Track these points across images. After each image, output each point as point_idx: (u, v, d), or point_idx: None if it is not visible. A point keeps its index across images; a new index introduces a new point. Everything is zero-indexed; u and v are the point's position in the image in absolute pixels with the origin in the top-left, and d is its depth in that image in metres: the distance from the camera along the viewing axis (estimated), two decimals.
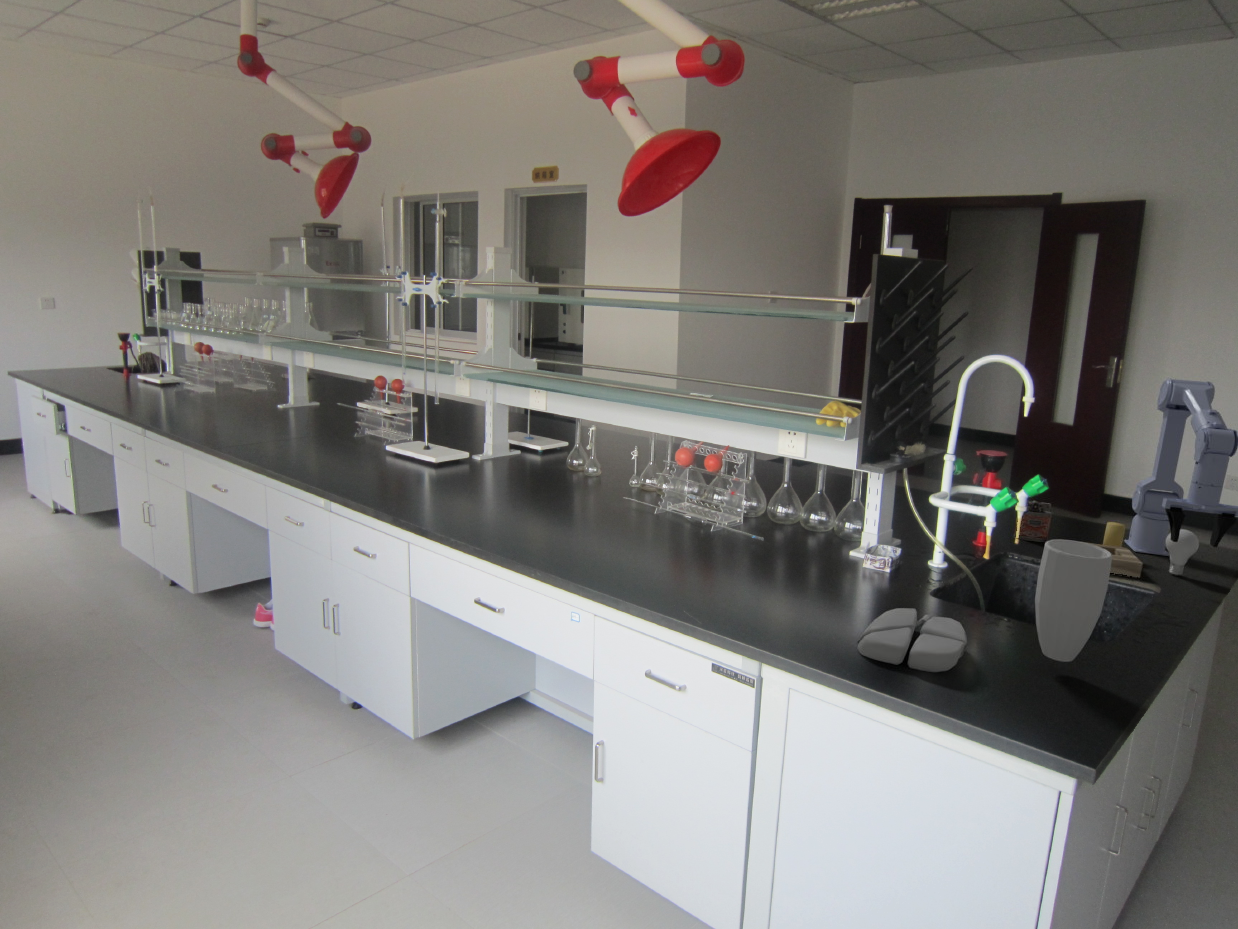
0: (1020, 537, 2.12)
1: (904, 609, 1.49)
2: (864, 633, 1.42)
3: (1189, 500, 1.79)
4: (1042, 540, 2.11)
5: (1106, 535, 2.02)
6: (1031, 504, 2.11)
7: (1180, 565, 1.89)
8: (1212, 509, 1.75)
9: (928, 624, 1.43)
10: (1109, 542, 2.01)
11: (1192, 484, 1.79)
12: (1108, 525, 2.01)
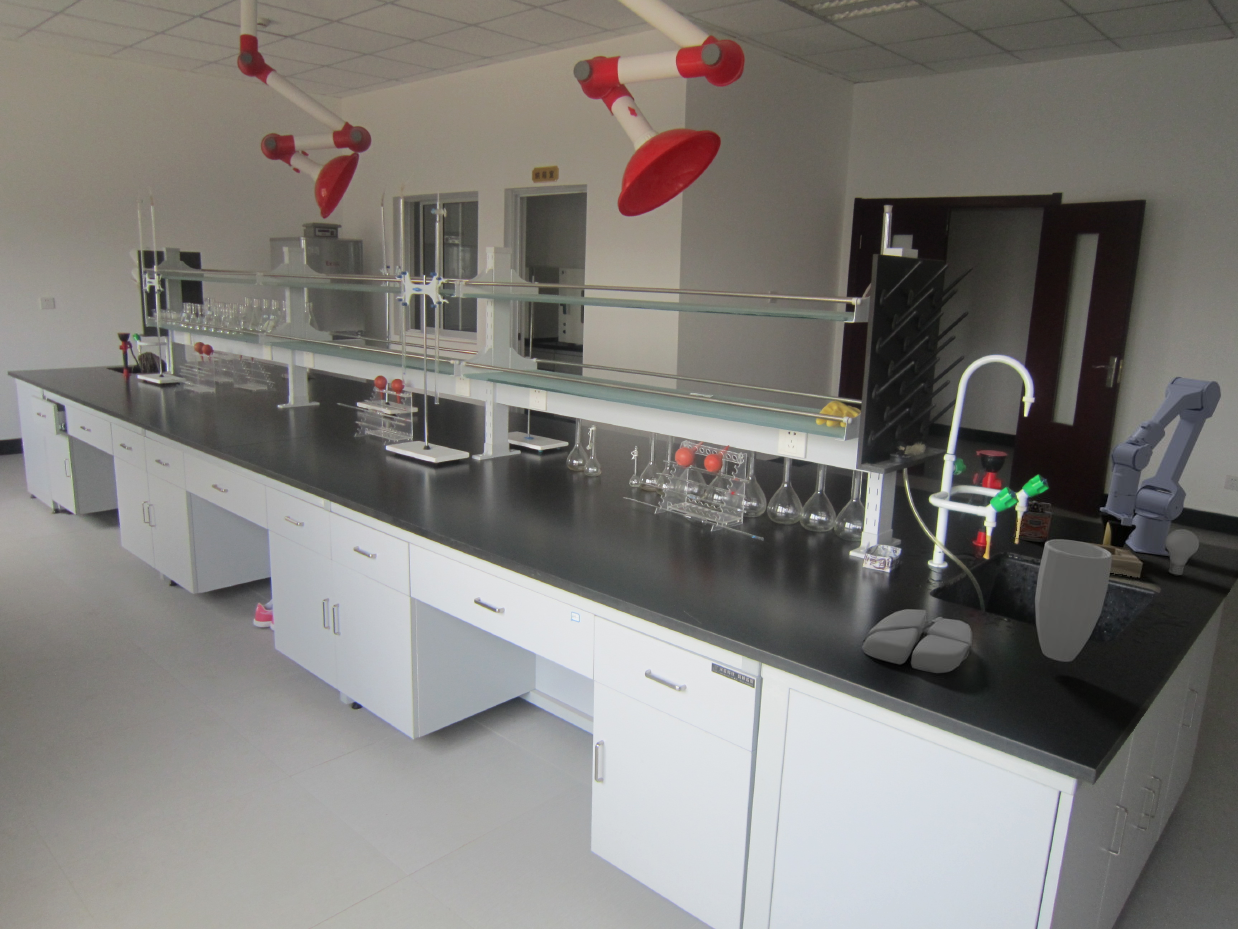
0: (1020, 537, 2.12)
1: (914, 610, 1.49)
2: (870, 632, 1.43)
3: None
4: (1042, 540, 2.11)
5: (1106, 535, 2.02)
6: (1031, 504, 2.11)
7: (1180, 565, 1.89)
8: (1101, 509, 2.01)
9: (935, 625, 1.42)
10: (1109, 542, 2.01)
11: None
12: (1108, 525, 2.01)
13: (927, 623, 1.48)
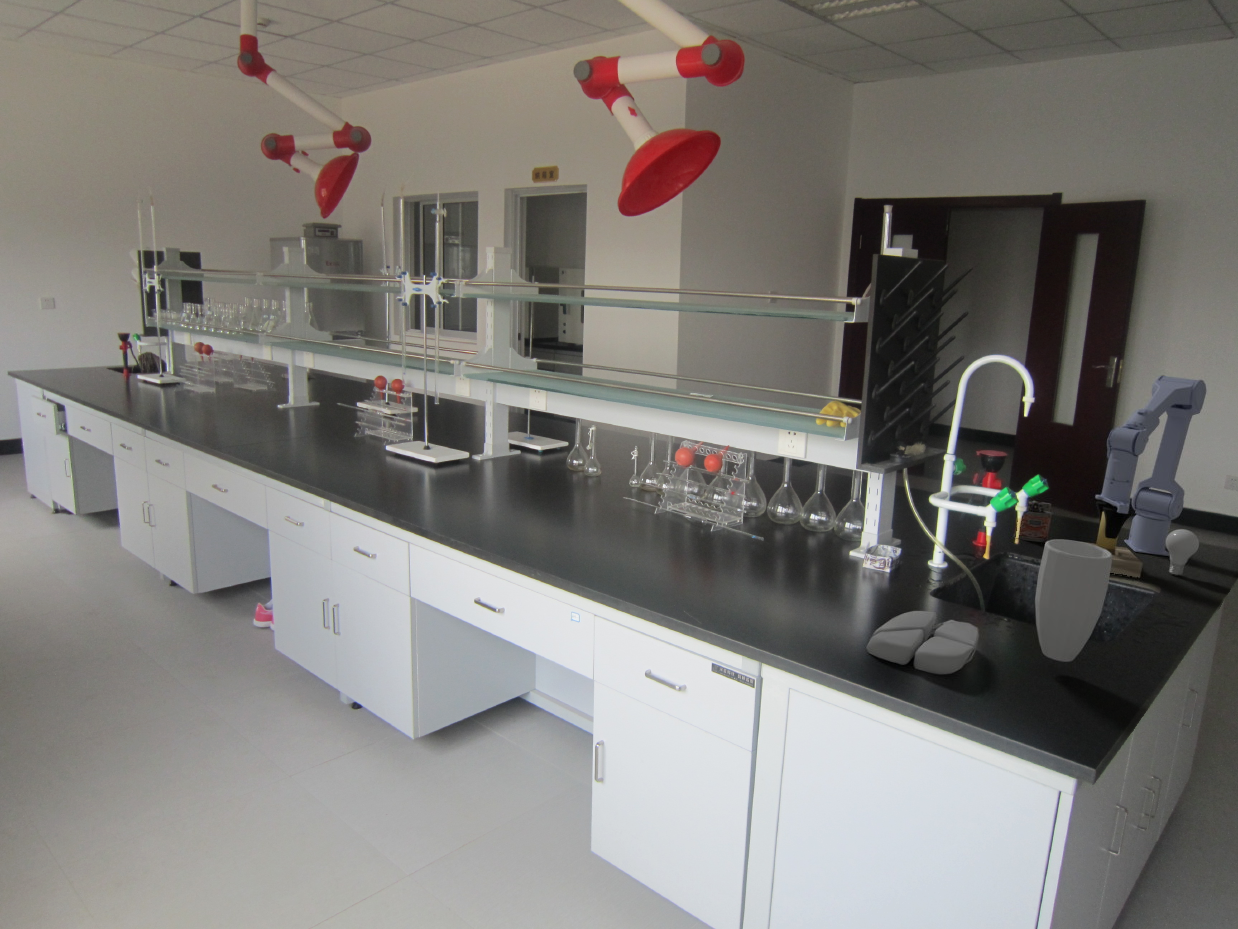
0: (1020, 537, 2.12)
1: (923, 612, 1.48)
2: (875, 632, 1.43)
3: None
4: (1042, 540, 2.11)
5: (1102, 525, 1.93)
6: (1031, 504, 2.11)
7: (1180, 565, 1.89)
8: (1096, 497, 1.92)
9: (942, 627, 1.41)
10: None
11: None
12: None
13: (936, 625, 1.47)
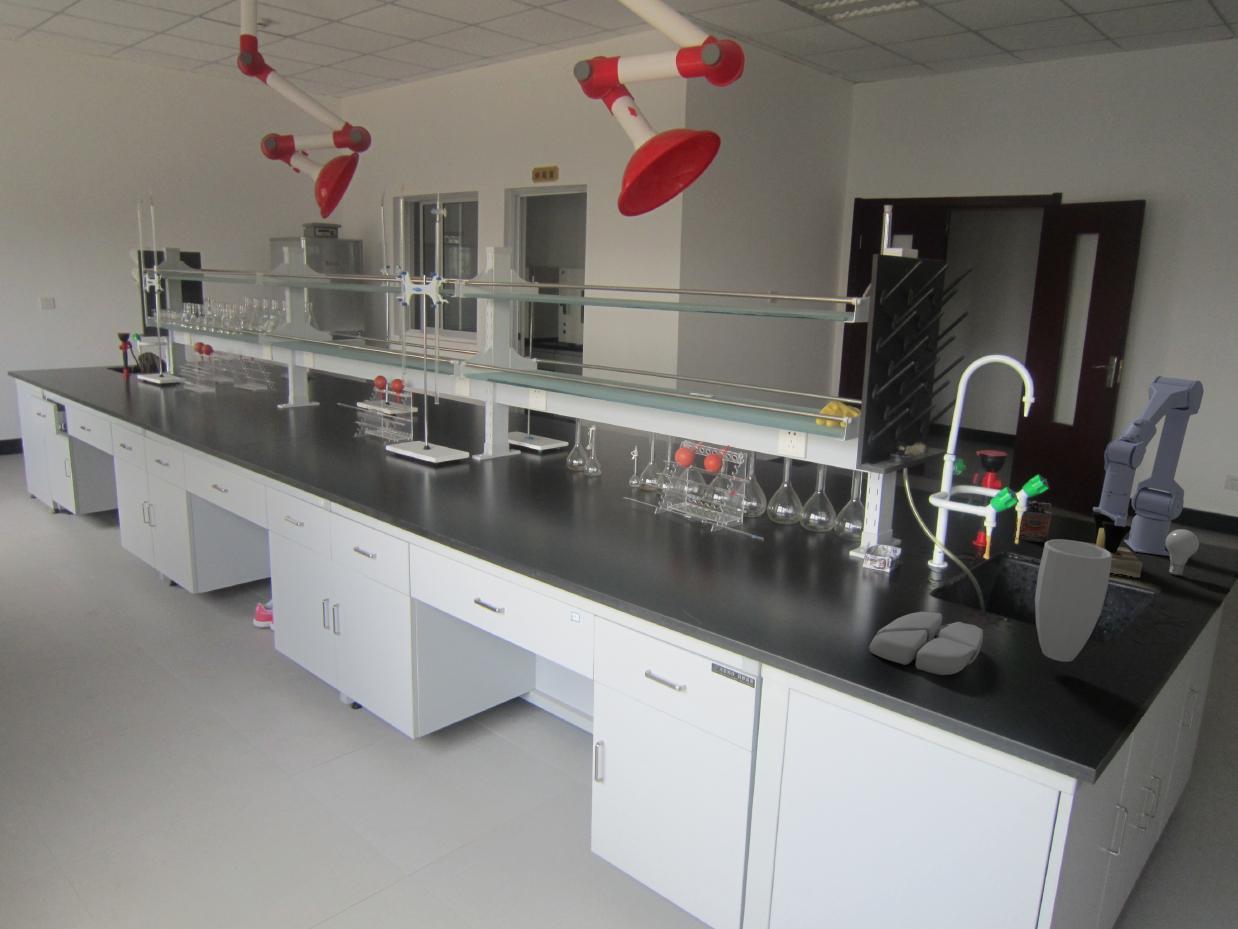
0: (1020, 537, 2.12)
1: (928, 613, 1.48)
2: (878, 632, 1.43)
3: None
4: (1042, 540, 2.11)
5: (1098, 542, 1.94)
6: (1031, 504, 2.11)
7: (1180, 565, 1.89)
8: (1094, 509, 1.93)
9: (946, 628, 1.41)
10: None
11: None
12: (1100, 531, 1.93)
13: (941, 626, 1.47)
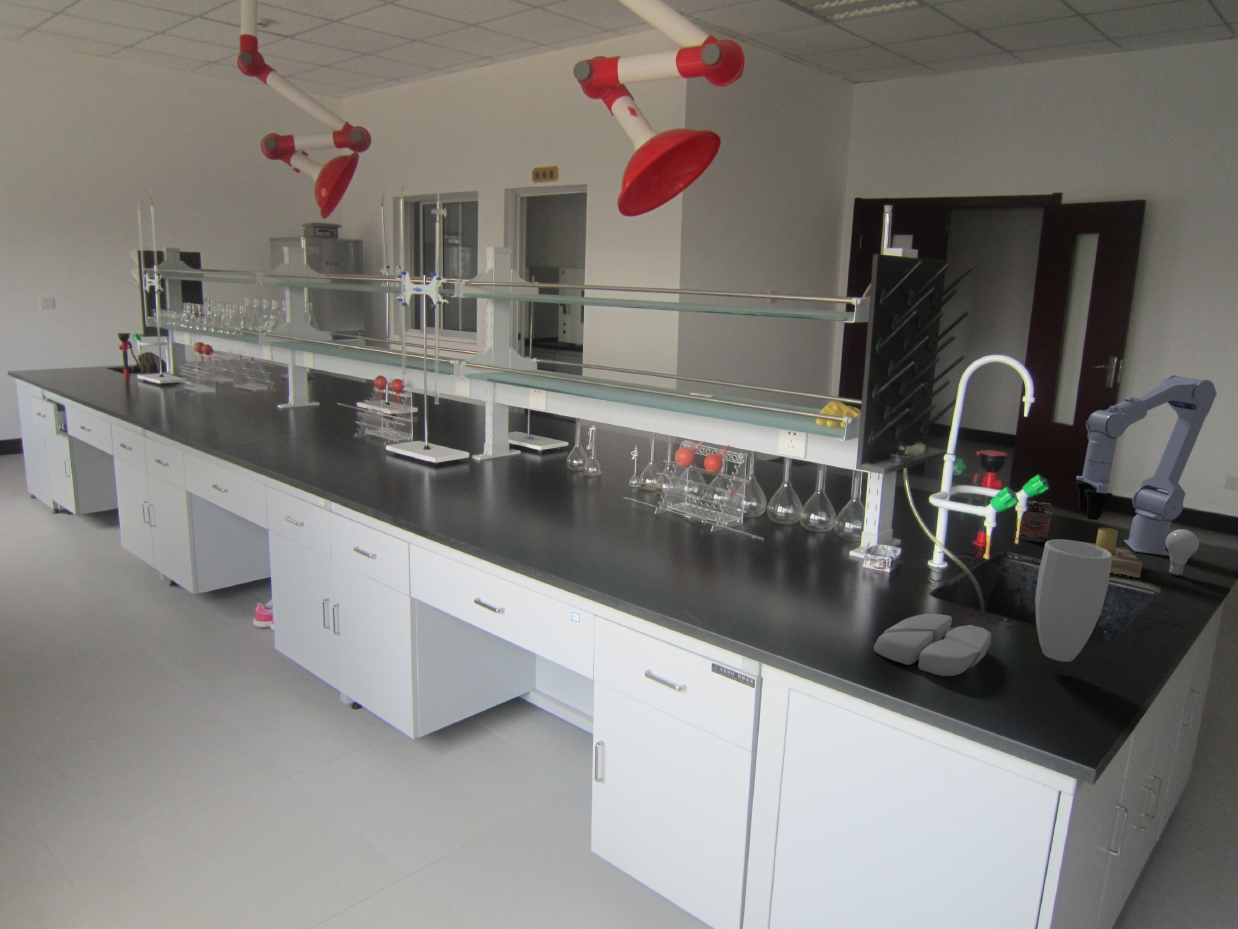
0: (1020, 537, 2.12)
1: (938, 615, 1.47)
2: (884, 632, 1.43)
3: None
4: (1042, 540, 2.11)
5: (1098, 542, 1.94)
6: (1031, 504, 2.11)
7: (1180, 565, 1.89)
8: (1077, 478, 1.99)
9: (953, 630, 1.40)
10: None
11: None
12: (1100, 531, 1.93)
13: (950, 629, 1.46)
